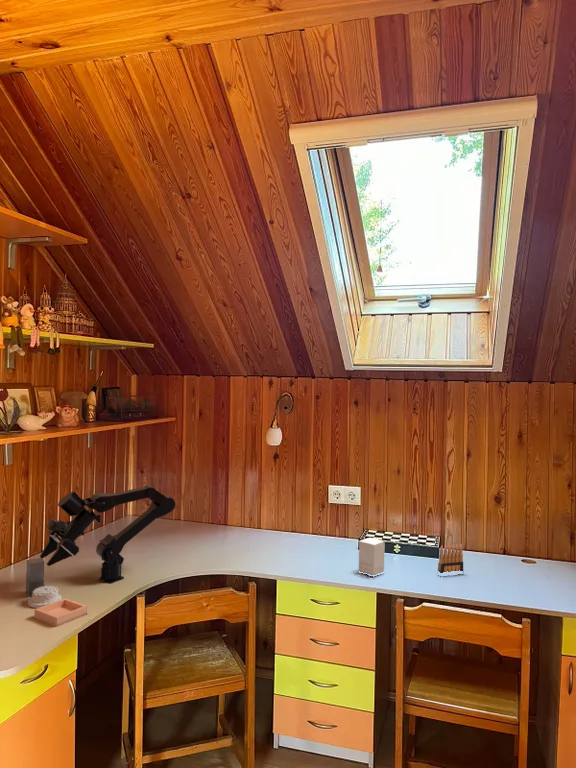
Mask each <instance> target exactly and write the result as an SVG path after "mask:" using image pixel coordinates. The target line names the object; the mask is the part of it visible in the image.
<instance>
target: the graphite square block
mask: <svg viewBox="0 0 576 768" xmlns="http://www.w3.org/2000/svg"><path fill="white" fill-rule="evenodd" d="M25 577H26V578H25V594H26V596H28V598H31V597H32V594H33V591H34V590H35V589H37V588H39V587H42V586H45V560H44V558H41V557H37V558H32V559H26V575H25Z"/></svg>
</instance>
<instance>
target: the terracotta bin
mask: <svg viewBox="0 0 576 768" xmlns="http://www.w3.org/2000/svg"><path fill="white" fill-rule="evenodd" d="M86 615H88V605H85V604H83V603H79V602H77V601H73V600H71V599H68V598H62V600H59V601H56V602H54V603H51V604H48V605H45V606H43V607H40V608H34V619H37V620H39V621H41V620H42V621H41V622H44V623H46V622H47V624H49V623H50V624H49V625H51V624H52V625H51V626H54V625H55V627H56V626H57V627H59V625H60V626H62V625H65V624H67V623H70V622H71V621H74V620H76V619H79V618H82V617H85V616H86ZM69 621H70V622H69ZM64 623H65V624H64Z"/></svg>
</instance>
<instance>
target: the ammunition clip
mask: <svg viewBox="0 0 576 768" xmlns="http://www.w3.org/2000/svg"><path fill="white" fill-rule="evenodd" d="M463 556H464V554H463V545H462V543H460V544H458V543H456V545H455V544H454V543H453V544H452V546H451V544H448V546H447V544H445V545H444V547H443V544H442V545H440V549H439V557H438V558H439V559H438V560H439V562H438V564H437V572H438V571H439V572H440V573H443V572H447V571H448V572H451V571H459V570H460V571H463V572H464V561H463V560H464V559H463V558H464V557H463Z"/></svg>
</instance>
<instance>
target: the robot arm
mask: <svg viewBox="0 0 576 768" xmlns="http://www.w3.org/2000/svg"><path fill="white" fill-rule="evenodd" d="M145 499H149V500H150V501H151V502H150V505H149V507H148V509H147V510H146V511H144V512H143V513H141V514H140V515H139V516H138V517H137V518H136V519H134V520H133V521H131V522H130V524H128V525H127V526H126V527H124V528H123V529H121V531H120V532H118V533H117V534H114V535H112V534H111V533H108V534H107V535H105V536H104V538H102V539H99V542H98V544H97V545H96V549H95V551H96V554H97V555H98V556H99V557H100V559H101V561H103V562H102V563H101V568H100V577H98V581H102V582H106V583H109V584H112V583H115V582H118V581H121V580H123V579H125V576H124V575H122V565H123V563H124V560H125V558H124V557H123V556H122V554H121V552H122V551H123V549H124V547H125V546H126V544H127V543H128V542H130V541H131V540H133V538H135V536H137V535H138V534H139V533H141V532H142V531H143V530H144V529H146V527H148V526H149V525H151V524H152V523H153V522H154V521H155V520H157V519H159V518H161V517H164V516H165V517H166V515H168V514H170V513H172V512H173V511H174V510H175V508H176V501H175V500H174V498H172V497H170V496H168V495H166V494H162V493H161V492H159V491H158V490H157V489H156V488H155V487H153V486H150V485H145V486H140V487H137V488H132V489H129V490H124V491H118V492H115V493H109V492H101V493H94V494H92V495H91V496H90V497H86V498H81V497H80V496H79V495H78V494H77V492H76V491H74V490H72V491H71V492H69V493H68V494H65V496H62V498H61V499H60V500H59V501H58V503H57V506H58V508H60V509H61V510H62V511H63V512H65V514H67V515H68V516H69V517H73V516H74V518H73V519H71V520H66V522H65V521H64V520H61V519H59V520H58V519H56V518H55V519H54V518H50V519H49V520H48V523H47V524H46V528H47V530H49V531H48V532H47V533H48V534H47V537H48V538H47V543H46V545H45V547H44V548H43V549H42V552H41V553H40V555H39V558H42V559H44V558H46V557H47V556H49V555H51V554H52V553H53V554H52V556H51V557H50V559H49V560H48V561H47V563H46V565H47V566H48V567H50V566H53V565H54V564H57V563H59V562H61V561H63V560H65V559H68V558H72V557H73V556H74V557H76V555H77V554H78V553H79V552H80V547H79V546H78V545H77V544H76V541H77V539H79V537H80V536H82V537H83V536H84V535H85V534H86V533H85V531H86V530H87V528H89V526H90V525H92V523H94V521H95V522H97V523H99V524H100V523H101V517H102V516H101V513H102V514H103V513H105V512H108V511H110V510H113V509H114V508H115V507H117V506H119V505H123V504H128V503H131V502H136V501H141V500H145ZM87 508H88V509H87ZM93 510H94V511H93ZM95 511H96V512H98V513H96V512H95Z"/></svg>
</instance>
